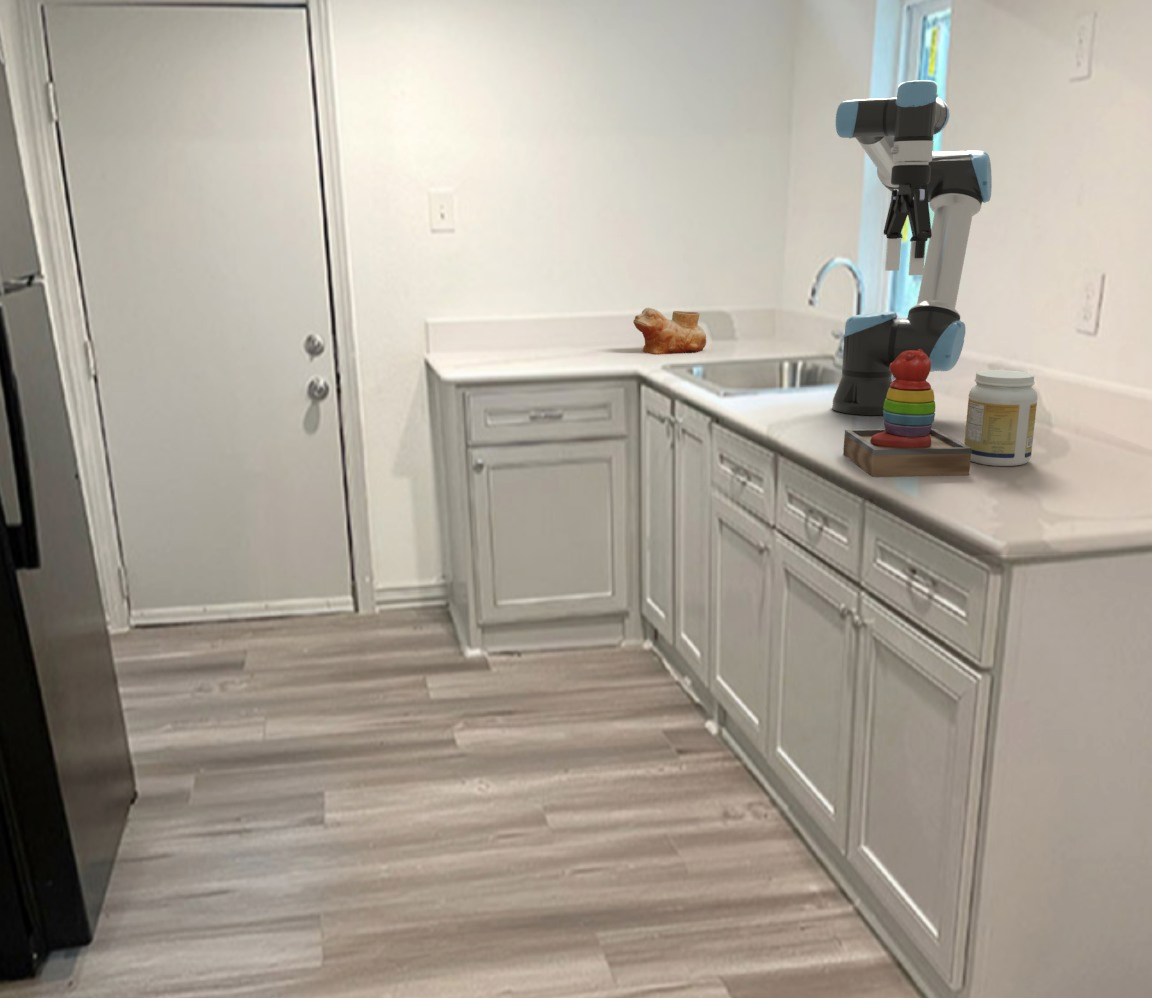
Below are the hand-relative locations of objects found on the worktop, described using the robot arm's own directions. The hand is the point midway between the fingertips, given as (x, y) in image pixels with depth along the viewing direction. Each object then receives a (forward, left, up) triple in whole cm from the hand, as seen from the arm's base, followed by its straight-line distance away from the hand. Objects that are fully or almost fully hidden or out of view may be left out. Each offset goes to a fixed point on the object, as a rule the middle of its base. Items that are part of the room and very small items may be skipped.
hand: (903, 273), depth 215 cm
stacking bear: (+24, -6, -31) cm, 39 cm away
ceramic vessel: (-140, -28, -35) cm, 147 cm away
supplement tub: (+23, +13, -35) cm, 43 cm away
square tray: (+25, -6, -34) cm, 43 cm away
